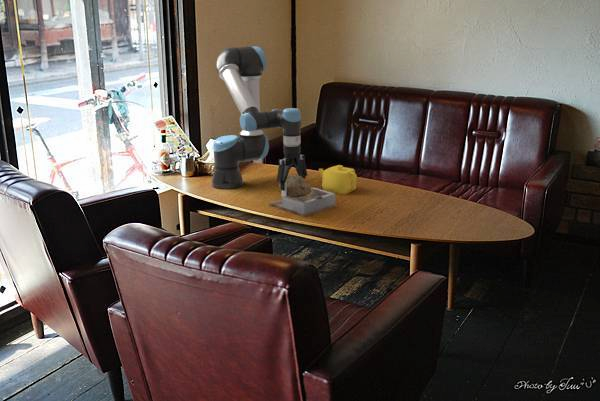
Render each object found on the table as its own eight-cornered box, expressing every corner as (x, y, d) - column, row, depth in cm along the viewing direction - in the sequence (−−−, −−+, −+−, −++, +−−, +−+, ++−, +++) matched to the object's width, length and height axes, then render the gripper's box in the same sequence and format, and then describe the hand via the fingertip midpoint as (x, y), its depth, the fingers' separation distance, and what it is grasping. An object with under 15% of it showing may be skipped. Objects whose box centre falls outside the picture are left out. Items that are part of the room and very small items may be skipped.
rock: (292, 189, 272) (303, 172, 277) (270, 186, 280) (282, 170, 285) (302, 206, 279) (313, 190, 284) (280, 203, 287) (292, 187, 292)
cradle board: (268, 205, 282) (268, 202, 281) (299, 196, 294) (299, 193, 294) (304, 217, 267) (304, 214, 266) (335, 206, 279) (335, 204, 279)
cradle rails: (282, 207, 275) (282, 195, 273) (313, 197, 288) (313, 186, 286) (305, 214, 266) (305, 202, 264) (336, 204, 278) (336, 192, 277)
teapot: (312, 189, 304) (312, 165, 301) (325, 183, 314) (326, 159, 311) (349, 196, 294) (350, 171, 290) (362, 189, 304) (363, 165, 300)
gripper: (279, 150, 267) (279, 201, 274) (315, 142, 281) (315, 191, 288) (267, 147, 272) (268, 198, 279) (303, 139, 286) (303, 187, 293)
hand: (292, 194), depth 283 cm, fingers closed on rock, 9 cm apart
